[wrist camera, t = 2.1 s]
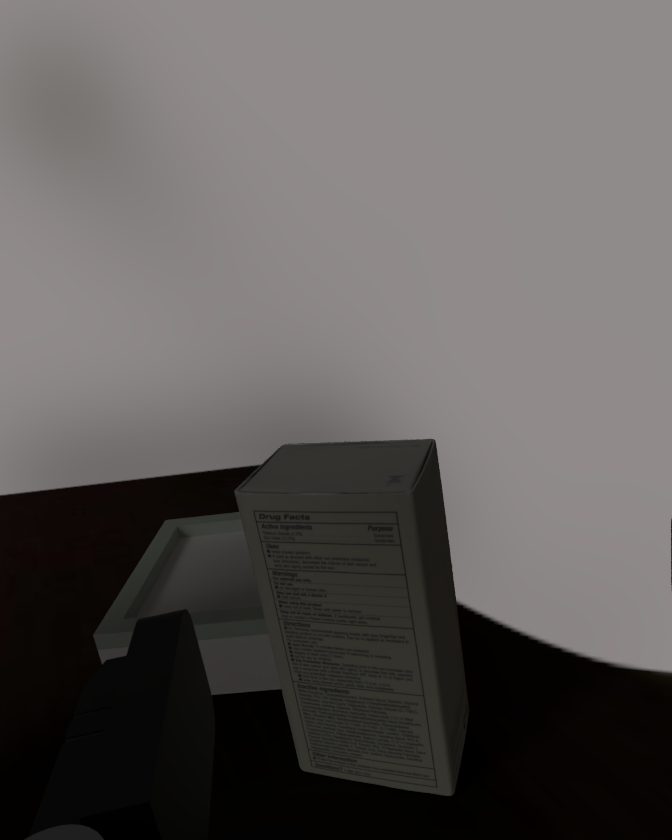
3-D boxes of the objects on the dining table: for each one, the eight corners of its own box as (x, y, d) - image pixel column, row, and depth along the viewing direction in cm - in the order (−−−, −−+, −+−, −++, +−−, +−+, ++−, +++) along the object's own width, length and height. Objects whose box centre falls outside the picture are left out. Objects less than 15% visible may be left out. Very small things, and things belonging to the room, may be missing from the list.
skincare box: (471, 712, 26) (445, 436, 23) (454, 806, 22) (419, 491, 19) (328, 693, 28) (283, 438, 25) (290, 776, 25) (229, 488, 21)
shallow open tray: (114, 703, 30) (93, 635, 29) (179, 574, 40) (165, 520, 39) (348, 683, 29) (336, 612, 28) (352, 556, 39) (344, 500, 38)
